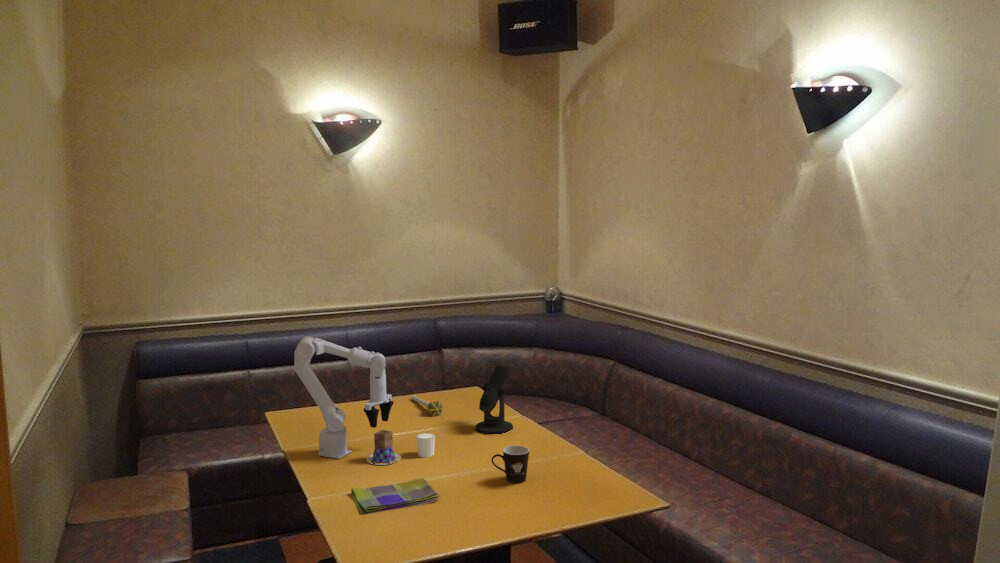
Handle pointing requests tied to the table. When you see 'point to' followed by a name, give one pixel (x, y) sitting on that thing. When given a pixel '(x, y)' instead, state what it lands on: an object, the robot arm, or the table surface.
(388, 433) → the walnut block
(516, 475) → the coffee mug
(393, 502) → the dish towel
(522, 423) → the table surface
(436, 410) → the light stick
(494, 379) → the microphone
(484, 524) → the table surface
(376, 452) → the pudding
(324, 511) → the table surface
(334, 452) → the robot arm
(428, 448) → the white tapered cup
